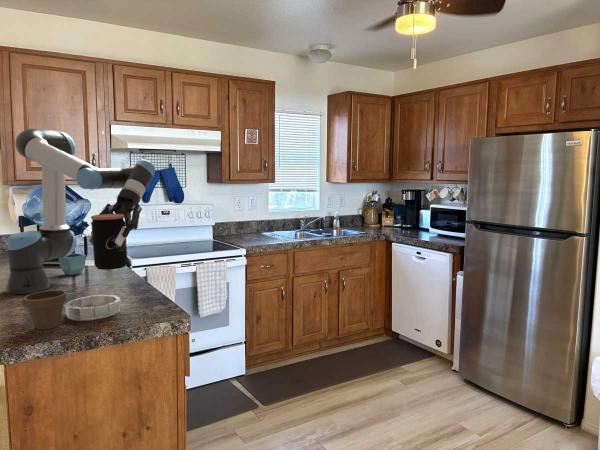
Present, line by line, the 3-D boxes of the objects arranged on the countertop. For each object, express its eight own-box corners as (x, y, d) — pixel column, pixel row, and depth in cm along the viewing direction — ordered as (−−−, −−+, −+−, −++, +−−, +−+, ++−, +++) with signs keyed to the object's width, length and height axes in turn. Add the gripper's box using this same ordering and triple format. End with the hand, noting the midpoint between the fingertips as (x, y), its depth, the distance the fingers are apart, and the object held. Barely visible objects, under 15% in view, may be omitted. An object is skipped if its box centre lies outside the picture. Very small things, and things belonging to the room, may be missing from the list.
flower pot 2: (87, 273, 218) (86, 254, 217) (69, 277, 211) (68, 257, 210) (76, 271, 223) (75, 253, 222) (59, 275, 216) (57, 256, 215)
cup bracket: (55, 318, 150) (54, 306, 150) (93, 304, 165) (92, 293, 165) (95, 322, 145) (94, 310, 144) (130, 308, 160) (130, 297, 159)
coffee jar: (108, 271, 154) (104, 217, 152) (88, 268, 159) (84, 216, 157) (134, 265, 163) (131, 214, 161) (114, 262, 168) (111, 213, 166)
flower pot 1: (23, 335, 134) (20, 301, 133) (27, 324, 144) (25, 292, 143) (68, 329, 139) (65, 296, 138) (68, 318, 149) (66, 288, 148)
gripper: (162, 201, 169) (137, 251, 157) (110, 201, 177) (82, 248, 164) (152, 187, 164) (126, 238, 151) (99, 188, 171) (70, 236, 158)
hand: (103, 243), depth 157 cm, fingers closed on coffee jar, 11 cm apart
